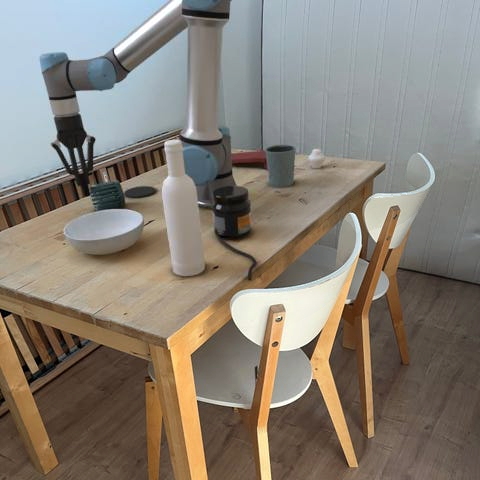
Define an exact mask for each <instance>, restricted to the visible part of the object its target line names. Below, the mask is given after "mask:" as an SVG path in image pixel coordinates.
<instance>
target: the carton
mask: <svg viewBox="0 0 480 480" xmlns="http://www.w3.org/2000/svg"><path fill="white" fill-rule="evenodd" d="M231 156H232V164H242V163H243V164H244V163H263V167H264V170H268V169H267V160H266V152H265V149H264V150H255V151H245V152H244V151H243V152H231Z"/></svg>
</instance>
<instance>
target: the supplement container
mask: <svg viewBox="0 0 480 480" xmlns="http://www.w3.org/2000/svg"><path fill="white" fill-rule="evenodd" d="M249 193H250V192H249V189H248V188H246V187H244V186H241V185H236V186H225V187H221V188H218V189H216V190H214V191H213V200H214V202H213V203H212V209H211V210H212V218H213V230H214V231H213V233H214V234H215V236H216V237H218V236H220V237H221V239H222V240H226V241H227V240H228V241H234V240H235V241H236V240H241V239H244V238H246V237H248V236H249V235H250V234H251V233H252V231H253V227H252V208H251V207H252V203H251V200H250V199H249V198H250V197H249Z"/></svg>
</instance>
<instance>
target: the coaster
mask: <svg viewBox="0 0 480 480" xmlns="http://www.w3.org/2000/svg"><path fill="white" fill-rule="evenodd" d="M156 192H157V190H156V188H155V187H153V186H148V185H144V186H143V185H142V186H135V187H131V188H129V189H126V190H125V191H124V192H123V193H124V197H126V198H130V199H142V198H146V197H150V196H153V195H154V194H155V193H156Z"/></svg>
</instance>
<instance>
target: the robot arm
mask: <svg viewBox="0 0 480 480" xmlns="http://www.w3.org/2000/svg"><path fill="white" fill-rule="evenodd" d="M232 1H233V0H168V1H167V2H166V3H164V4H163V5H162V6H161V7H160V8H159V9H157V10H156V11H154V13H152V14H151V15H150V16H149V17H148V18H147V19H146V20H144V21H143V22H141V24H139V25H138V26H137V27H136V28H134V30H132V31H131V32H130V33H129V34H128V35H126V36H125V37H124V38H123V39H122V40H120V41H119V42H118V43H116V45H114V46H113V47H112V48H111V49H110V50H108V51H107V52H106V53H105V54H103V55H100V56H97V57H93V58H92V57H91V58H89V59H76V60H71V59H70V58H69V56H68V54H67V53H66V52H65V51H62V52H61V51H60V52H58V51H57V52H56V51H55V52H47V53H42V54H40V56H39V65H40V69H41V75H42V77H43V81H44V85H45V88H46V92H47V96H48V100H49V105H50V108H51V113H52V115H53V116H54V117H53V120H54V125H55V130H56V132H57V133H56V139H55V140H54V141H52V142H50V146H51V147H52V148H53V149H54V151H56V153H57V155H58V157H59V159H60V161H61V163H62V165H63V167H64V169H65V171H66V172H67V174H68V175H70V176H74V180H75V183H76V185H77V186H78V187H80V189H81V193H82V196H83V197H84V198H86V197H90V190H89V187H88V185H90V184H91V181H90V176H89V173H90V172H92V171H94V145H95V143H96V137H95V136H93V135H90V134H88V133H87V131H86V130H85V128H84V123H83V119H82V115H81V114H80V113H79V112H80V105H79V101H78V97H77V92H82V91H83V92H85V91H87V92H88V91H89V92H90V91H91V92H92V91H99V92H103V91H109V90H112V89H113V88H114V87H115V85H116V84H119V83H121V82H122V81H124V80H125V79H126V78H127V77H128V75H129V74H130V73H131V72H132V71H133V70H135V69H136V68H138V67H139V66H140V65H141V64H143V63H144V62H145V61H146V60H148V59H149V58H150V57H152V56H153V55H155V53H157V52H158V51H159V50H160V49H162V48H163V47H164V46H166V45H167V44H168V43H170V42H171V41H172V40H173V39H175V38H176V37H177V36H179V35H180V34H181V33H182V32H183V31H185V30H186V29H187V45H186V46H187V50H186V51H187V52H186V53H187V55H186V66H187V67H186V106H185V107H186V108H185V109H186V110H185V111H186V114H185V115H186V116H185V118H186V119H185V127H184V128H183V129H181V130H182V131H180V132H181V135H180V134H179V135H180V141H181V143H182V146H183V160H184V168H185V174H186V175H187V176H189V177H190V178H191V179H192V180H193V182H194V184H195V186H196V190H197V200H198V208H201V209H208V210H209V209H211V210H213V209H212V203H213V202H214V200H213V191H214V190H216V189H218V188H221V187H225V186H237V183H236V180H235V178H234V174H233V163H232V156H231V153H232V136H231V130H230V128H229V127H228V126H225V125H219V124H218V123H219V108H220V107H219V106H220V89H221V88H220V85H221V67H222V66H221V65H222V46H223V32H224V31H223V29H224V27H225V26H226V25H227V23H229V21H230V15H231V2H232ZM85 141H86V142H87V144H86V145H87V148H86V149H87V151H86V152H87V154H86V156H87V158H86V159H85V154H84V149H83V148H84V147H83V146H84V143H85ZM61 145H63V146H64V147H65V148H66V150H67V152H68V156H69V159H70V164H69V162H68V161H67V158H66V156H65V155H64V152H63V150H62V149H61V147H62V146H61ZM75 150H76V151H77V156H78V161H79V165H80V169H81V172H80V171H79V166H78V163H77V158H76V154H75ZM217 239H218V241H219V242H220V243H221V244H222V245H223V246H225V247H226V248H228V249H229V250H231V251H232V252H234V253H237V254H240V255H242V256H244V257H246V258H249V259H250V260H251V261H252V264H251V265H250V267H249V268H248V271H247V281H249V282H251V281H252V272H253V269H254V268H255V267H256V266H257V260H256V258H255V256H253V255H251V254H249V253H247V252H245V251H242V250H240V249H237V248H236V247H233V246H232V245H230V244H229V243H227V242H225V241H224V239H222V238H221V237H220V236H217ZM258 369H259V368H258V365H256V366H254V378H255V379H254V382H255V385H256V379H257V374H258V375H259V370H258Z"/></svg>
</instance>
